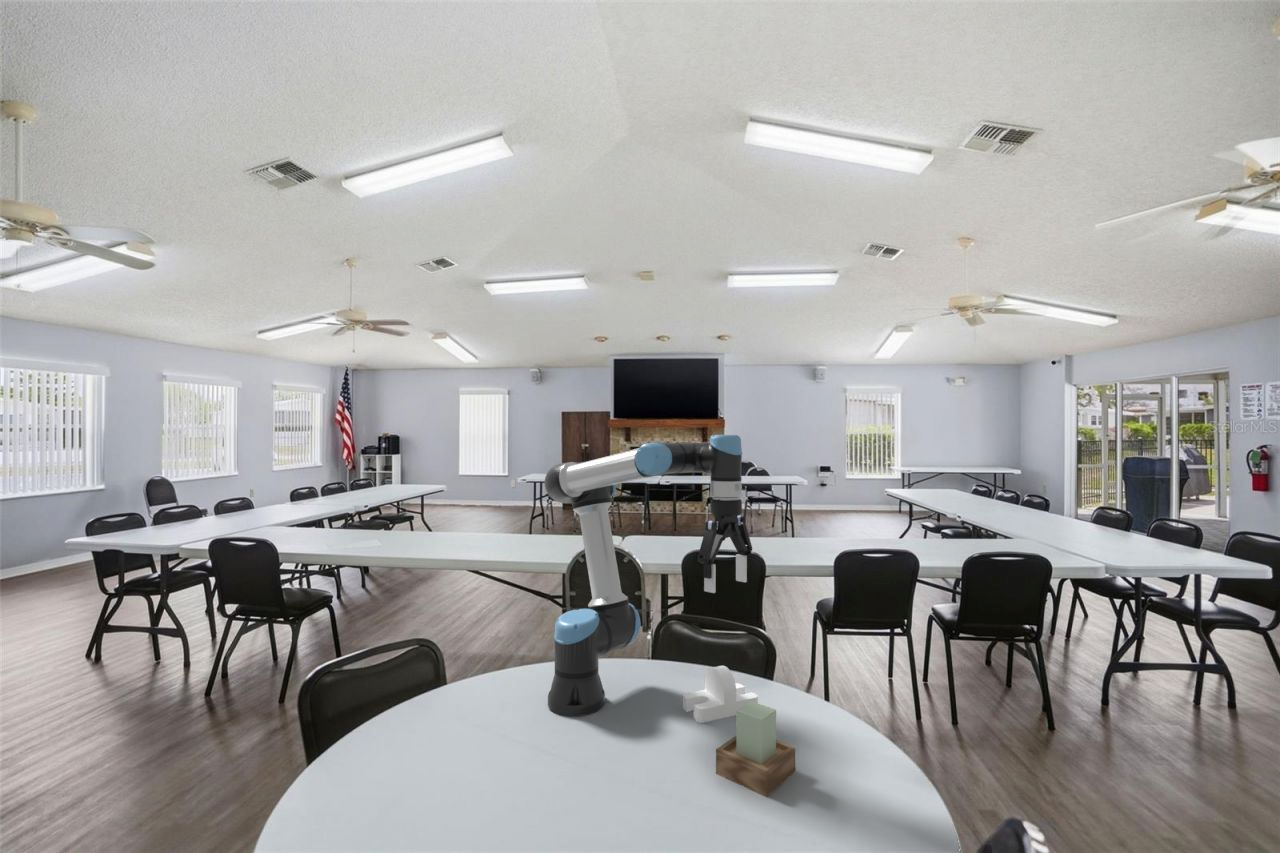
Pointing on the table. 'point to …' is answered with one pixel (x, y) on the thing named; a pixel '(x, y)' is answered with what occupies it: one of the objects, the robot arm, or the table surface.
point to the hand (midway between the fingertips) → (726, 586)
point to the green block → (756, 732)
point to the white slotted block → (717, 696)
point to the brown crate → (756, 767)
